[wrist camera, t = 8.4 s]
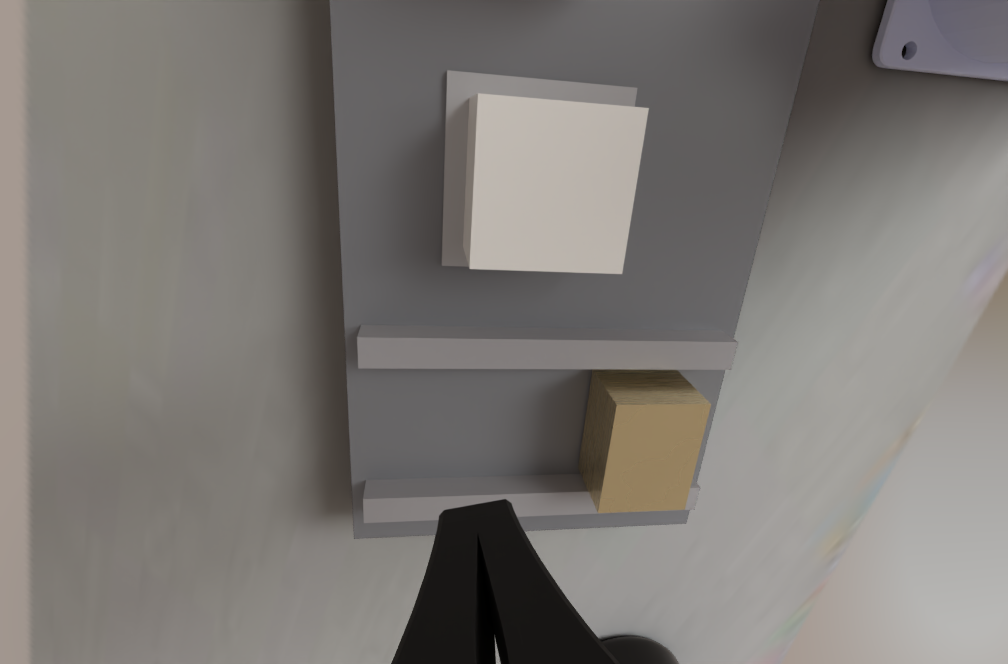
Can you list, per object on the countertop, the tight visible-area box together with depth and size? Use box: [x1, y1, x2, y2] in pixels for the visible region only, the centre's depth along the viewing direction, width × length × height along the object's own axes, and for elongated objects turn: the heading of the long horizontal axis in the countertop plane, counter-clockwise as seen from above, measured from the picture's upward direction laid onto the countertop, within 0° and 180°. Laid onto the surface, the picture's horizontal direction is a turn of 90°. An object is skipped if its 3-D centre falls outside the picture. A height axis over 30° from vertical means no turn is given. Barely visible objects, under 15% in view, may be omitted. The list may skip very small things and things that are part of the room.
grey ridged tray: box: [330, 0, 820, 539], centre depth 16 cm, size 13×24×3 cm, turn 176°
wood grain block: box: [578, 369, 711, 513], centre depth 17 cm, size 3×4×2 cm
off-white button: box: [463, 93, 649, 274], centre depth 14 cm, size 4×4×2 cm
